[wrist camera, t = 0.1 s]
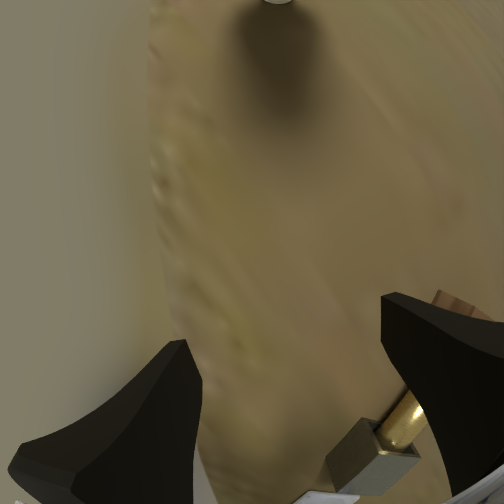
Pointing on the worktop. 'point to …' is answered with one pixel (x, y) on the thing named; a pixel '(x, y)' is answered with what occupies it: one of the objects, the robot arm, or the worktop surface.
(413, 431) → the tube
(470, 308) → the brown rectangular block
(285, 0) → the white tall piece
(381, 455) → the sleeve
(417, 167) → the worktop surface
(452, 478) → the robot arm
